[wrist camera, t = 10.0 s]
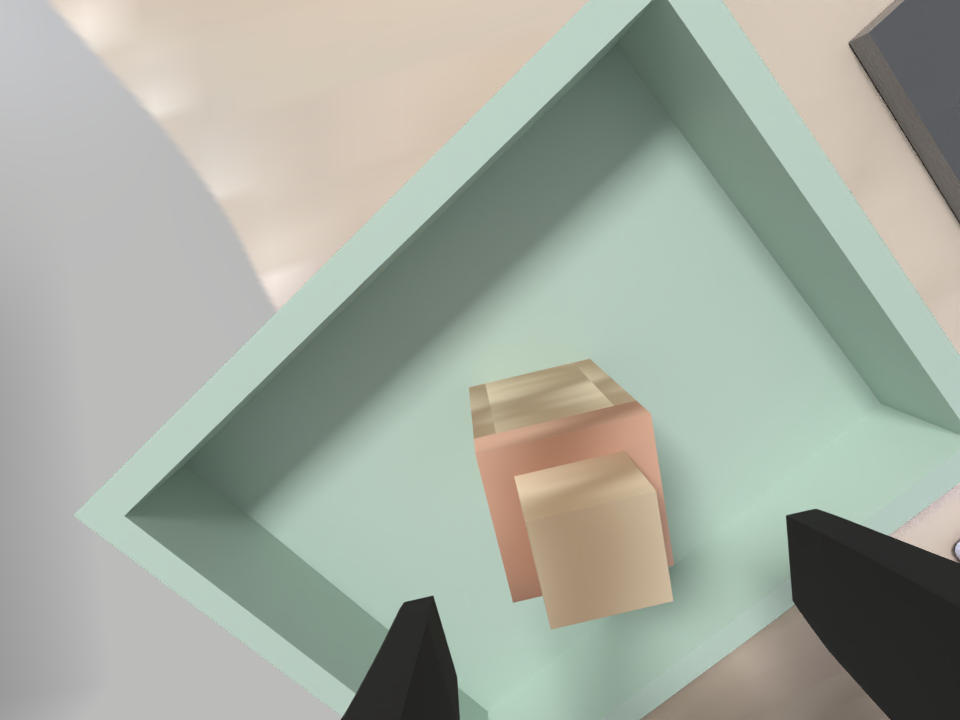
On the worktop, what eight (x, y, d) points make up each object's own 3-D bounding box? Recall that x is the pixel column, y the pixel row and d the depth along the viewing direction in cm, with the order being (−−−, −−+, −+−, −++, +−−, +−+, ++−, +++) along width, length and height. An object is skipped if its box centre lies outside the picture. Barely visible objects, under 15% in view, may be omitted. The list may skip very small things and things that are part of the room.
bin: (902, 399, 19) (1016, 440, 15) (485, 724, 22) (492, 829, 18) (614, 0, 15) (669, -80, 11) (154, 456, 18) (73, 515, 14)
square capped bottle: (589, 358, 17) (688, 447, 10) (609, 469, 19) (712, 622, 11) (468, 387, 17) (479, 496, 10) (495, 496, 19) (523, 665, 11)
